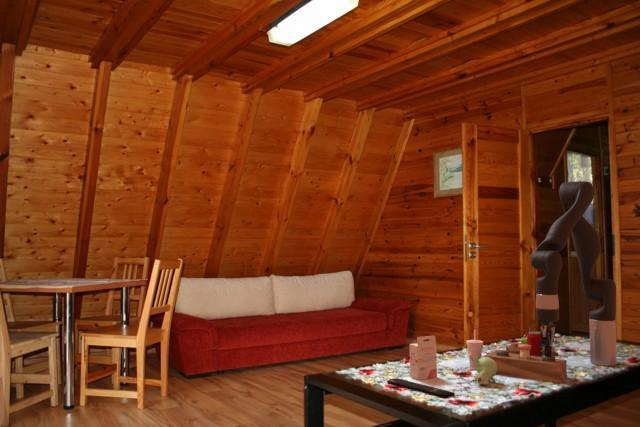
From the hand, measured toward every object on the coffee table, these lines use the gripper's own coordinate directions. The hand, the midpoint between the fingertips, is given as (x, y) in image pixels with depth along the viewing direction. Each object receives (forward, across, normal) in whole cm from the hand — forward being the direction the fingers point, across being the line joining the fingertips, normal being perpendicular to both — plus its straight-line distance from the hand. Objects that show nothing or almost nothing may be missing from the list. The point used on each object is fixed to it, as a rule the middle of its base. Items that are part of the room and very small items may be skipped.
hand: (548, 356), depth 189 cm
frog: (+8, -20, +17) cm, 27 cm away
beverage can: (+8, +22, +9) cm, 25 cm away
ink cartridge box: (+8, -24, +37) cm, 45 cm away
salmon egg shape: (+4, 0, +8) cm, 9 cm away
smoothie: (+8, +2, +27) cm, 28 cm away
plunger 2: (+7, 0, 0) cm, 7 cm away
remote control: (+8, -39, +32) cm, 51 cm away
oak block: (+8, 0, +8) cm, 11 cm away
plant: (+8, +42, +16) cm, 46 cm away
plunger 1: (+7, 0, +16) cm, 17 cm away
